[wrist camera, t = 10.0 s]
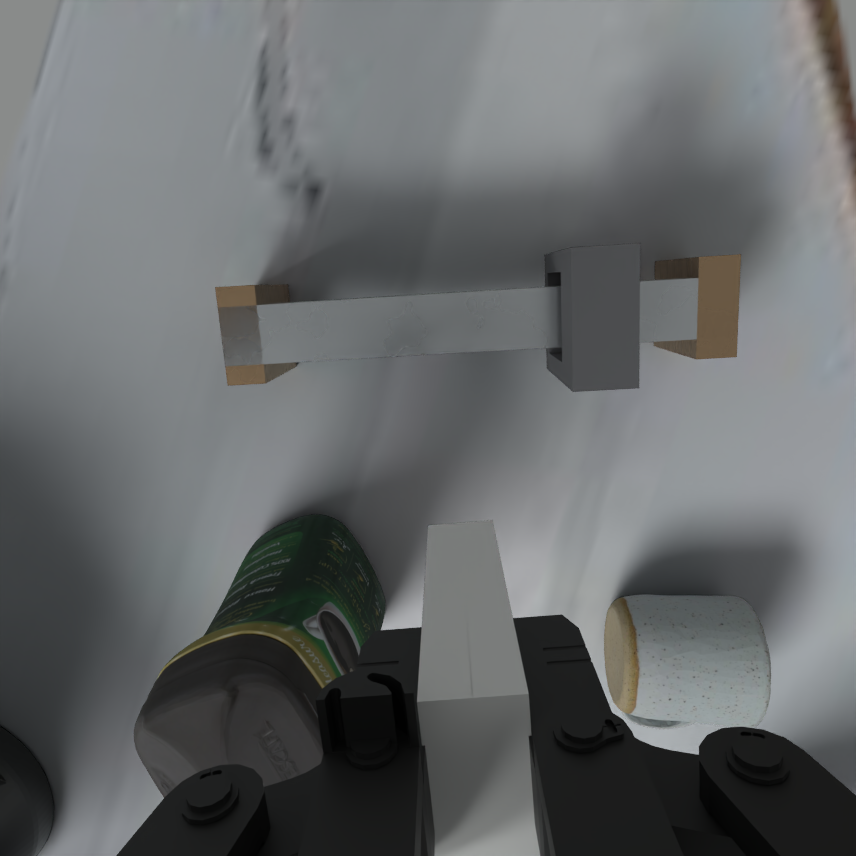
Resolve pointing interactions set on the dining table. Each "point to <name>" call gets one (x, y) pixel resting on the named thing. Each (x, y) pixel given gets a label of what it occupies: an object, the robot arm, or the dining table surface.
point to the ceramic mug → (687, 661)
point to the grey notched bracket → (597, 316)
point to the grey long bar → (466, 321)
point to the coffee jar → (264, 659)
